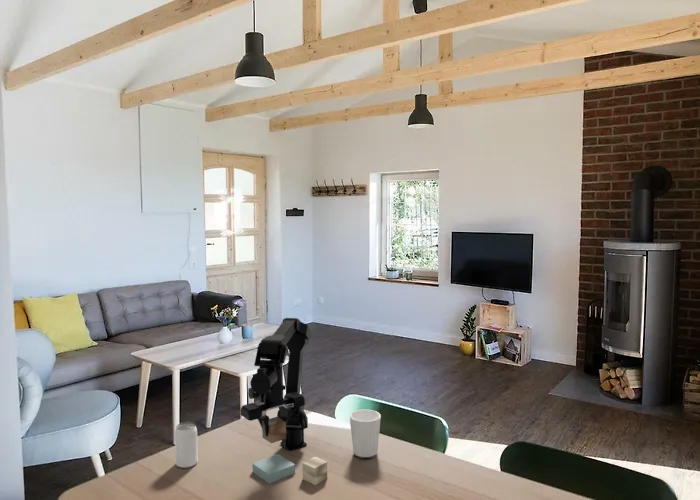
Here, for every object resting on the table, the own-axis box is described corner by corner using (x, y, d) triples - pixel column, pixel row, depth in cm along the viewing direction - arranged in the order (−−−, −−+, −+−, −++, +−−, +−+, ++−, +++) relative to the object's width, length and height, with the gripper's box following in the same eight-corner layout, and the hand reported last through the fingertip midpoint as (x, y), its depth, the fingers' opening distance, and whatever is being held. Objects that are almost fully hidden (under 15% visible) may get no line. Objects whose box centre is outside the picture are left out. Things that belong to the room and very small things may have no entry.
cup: (344, 458, 167) (344, 418, 166) (356, 445, 176) (356, 407, 175) (375, 464, 163) (374, 423, 162) (385, 450, 173) (385, 411, 171)
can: (191, 469, 161) (190, 430, 160) (171, 467, 162) (170, 429, 161) (201, 459, 167) (200, 422, 166) (182, 457, 169) (181, 420, 168)
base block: (278, 463, 165) (278, 453, 165) (295, 474, 159) (295, 464, 158) (252, 473, 159) (252, 463, 159) (269, 484, 153) (269, 474, 152)
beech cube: (315, 472, 159) (314, 456, 158) (327, 478, 155) (327, 461, 155) (302, 479, 155) (302, 462, 155) (315, 485, 152) (314, 468, 151)
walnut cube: (277, 432, 161) (277, 416, 161) (286, 438, 157) (285, 422, 157) (262, 437, 158) (262, 421, 158) (271, 443, 154) (270, 426, 154)
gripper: (286, 368, 168) (286, 417, 170) (231, 381, 157) (232, 433, 158) (305, 377, 160) (306, 428, 161) (249, 392, 148) (250, 446, 150)
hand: (274, 433), depth 158 cm, fingers closed on walnut cube, 5 cm apart
